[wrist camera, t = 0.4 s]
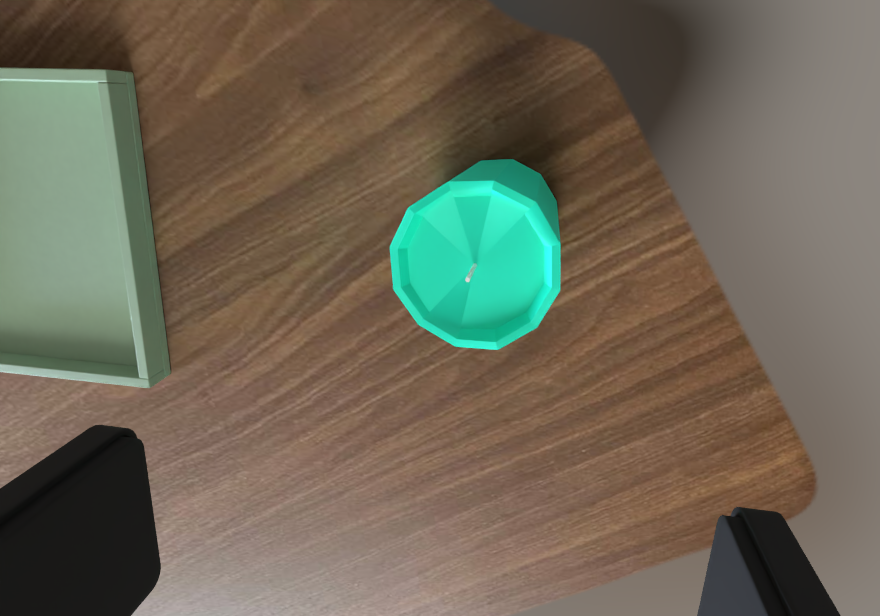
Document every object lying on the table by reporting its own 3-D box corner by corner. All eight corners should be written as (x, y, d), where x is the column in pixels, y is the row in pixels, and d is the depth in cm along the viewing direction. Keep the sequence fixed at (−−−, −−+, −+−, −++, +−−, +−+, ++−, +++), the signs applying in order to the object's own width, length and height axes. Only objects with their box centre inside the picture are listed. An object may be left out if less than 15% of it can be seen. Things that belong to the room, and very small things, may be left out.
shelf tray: (-111, 67, 33) (-153, 64, 31) (133, 72, 31) (105, 69, 29) (-42, 351, 39) (-74, 364, 37) (171, 373, 36) (149, 388, 34)
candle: (572, 258, 30) (586, 344, 19) (460, 288, 32) (410, 384, 20) (540, 141, 29) (534, 157, 17) (424, 178, 30) (349, 215, 19)
